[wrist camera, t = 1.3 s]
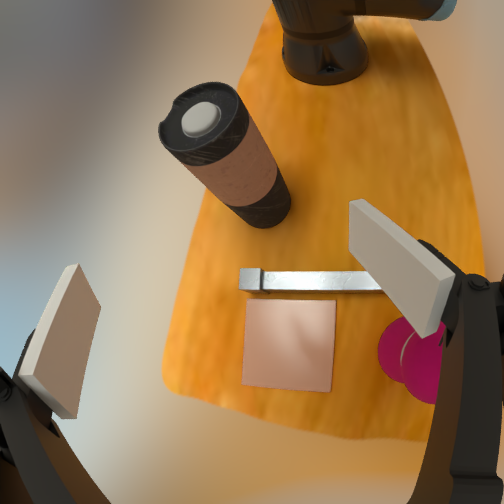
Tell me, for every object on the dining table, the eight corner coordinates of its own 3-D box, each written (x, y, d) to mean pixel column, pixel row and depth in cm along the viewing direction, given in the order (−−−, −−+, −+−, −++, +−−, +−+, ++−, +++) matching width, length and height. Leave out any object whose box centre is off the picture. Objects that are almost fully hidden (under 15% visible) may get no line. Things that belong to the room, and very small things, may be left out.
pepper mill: (378, 314, 33) (411, 301, 14) (434, 317, 30) (517, 304, 12) (370, 374, 31) (391, 430, 13) (427, 376, 29) (498, 425, 10)
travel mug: (302, 215, 39) (253, 121, 20) (249, 240, 40) (163, 169, 22) (280, 170, 41) (225, 68, 23) (231, 193, 43) (151, 109, 24)
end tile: (336, 300, 35) (335, 300, 34) (330, 391, 32) (330, 392, 32) (248, 299, 38) (246, 298, 38) (243, 383, 36) (241, 384, 35)
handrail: (443, 272, 31) (455, 265, 27) (444, 292, 30) (456, 288, 26) (252, 274, 39) (240, 268, 35) (251, 293, 38) (238, 289, 34)
